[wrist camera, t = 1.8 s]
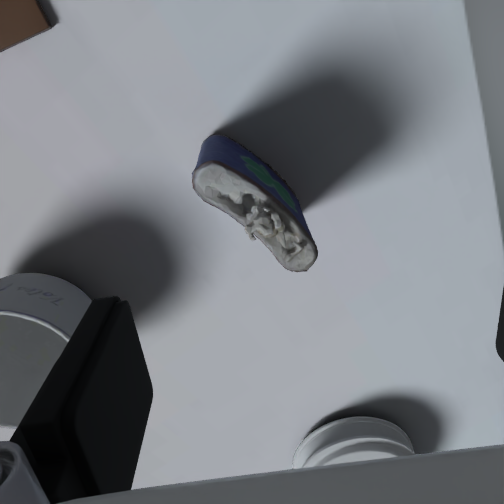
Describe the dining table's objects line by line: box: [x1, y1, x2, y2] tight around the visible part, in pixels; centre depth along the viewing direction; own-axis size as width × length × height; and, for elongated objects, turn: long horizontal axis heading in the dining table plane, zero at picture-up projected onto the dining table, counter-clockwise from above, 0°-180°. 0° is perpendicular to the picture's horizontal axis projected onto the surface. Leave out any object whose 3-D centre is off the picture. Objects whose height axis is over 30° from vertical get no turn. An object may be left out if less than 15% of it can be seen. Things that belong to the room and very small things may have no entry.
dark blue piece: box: [192, 135, 318, 272], centre depth 28 cm, size 9×3×11 cm, turn 48°
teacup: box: [0, 273, 92, 429], centre depth 33 cm, size 14×11×8 cm
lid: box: [292, 417, 416, 469], centre depth 43 cm, size 13×13×5 cm
